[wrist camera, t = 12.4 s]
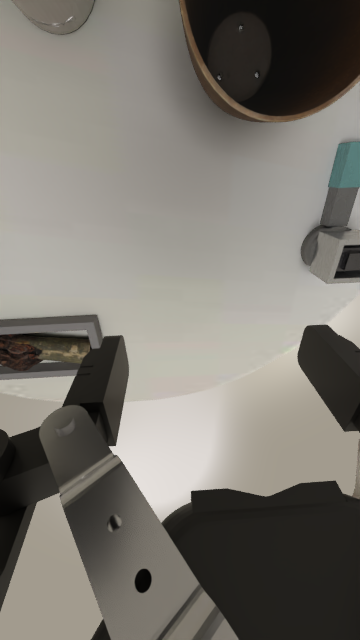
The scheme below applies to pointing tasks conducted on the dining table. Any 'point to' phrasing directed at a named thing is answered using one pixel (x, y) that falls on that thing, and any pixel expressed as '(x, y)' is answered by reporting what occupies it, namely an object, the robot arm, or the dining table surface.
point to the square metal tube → (334, 256)
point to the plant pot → (274, 54)
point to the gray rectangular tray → (50, 325)
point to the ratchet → (339, 206)
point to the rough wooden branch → (40, 350)
